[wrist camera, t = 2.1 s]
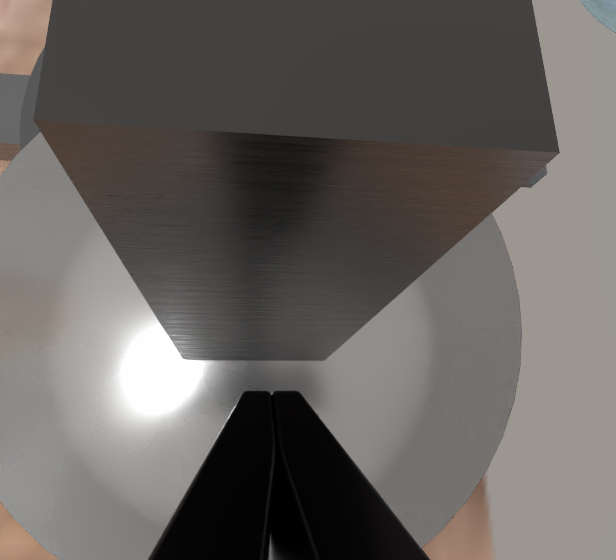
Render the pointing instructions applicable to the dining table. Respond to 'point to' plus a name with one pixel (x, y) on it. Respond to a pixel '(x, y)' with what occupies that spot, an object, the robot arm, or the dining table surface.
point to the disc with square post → (262, 249)
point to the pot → (21, 106)
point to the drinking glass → (603, 11)
